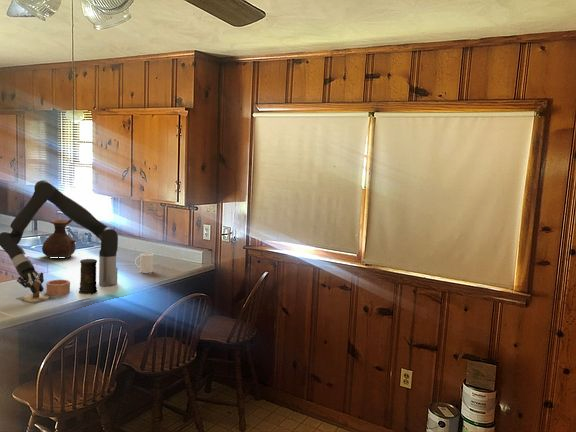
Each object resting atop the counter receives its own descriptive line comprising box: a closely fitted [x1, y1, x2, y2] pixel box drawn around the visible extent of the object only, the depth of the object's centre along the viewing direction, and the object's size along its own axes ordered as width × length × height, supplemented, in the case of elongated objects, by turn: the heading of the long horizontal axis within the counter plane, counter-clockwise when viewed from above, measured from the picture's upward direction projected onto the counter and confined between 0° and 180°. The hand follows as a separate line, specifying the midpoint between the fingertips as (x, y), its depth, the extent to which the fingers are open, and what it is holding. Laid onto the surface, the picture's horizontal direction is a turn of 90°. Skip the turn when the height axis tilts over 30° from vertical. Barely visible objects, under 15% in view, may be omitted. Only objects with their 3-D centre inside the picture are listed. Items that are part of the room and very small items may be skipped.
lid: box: [22, 281, 50, 303], centre depth 235 cm, size 12×12×9 cm
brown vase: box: [41, 218, 77, 258], centre depth 329 cm, size 22×22×30 cm
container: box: [78, 258, 98, 295], centre depth 251 cm, size 9×9×18 cm
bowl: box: [45, 279, 71, 296], centre depth 248 cm, size 11×11×6 cm
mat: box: [15, 295, 57, 305], centre depth 236 cm, size 12×15×1 cm
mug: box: [134, 252, 154, 273], centre depth 303 cm, size 12×8×12 cm
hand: (38, 291), depth 234 cm, fingers closed on lid, 3 cm apart
